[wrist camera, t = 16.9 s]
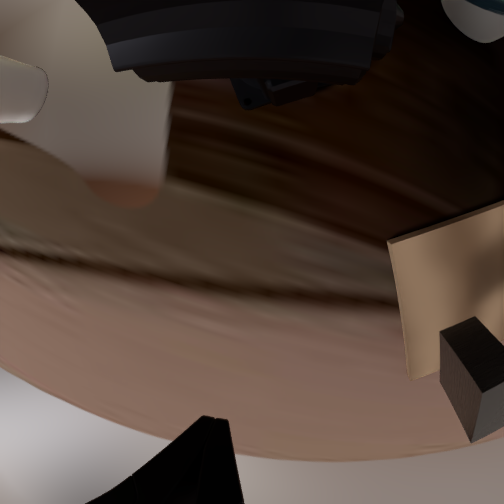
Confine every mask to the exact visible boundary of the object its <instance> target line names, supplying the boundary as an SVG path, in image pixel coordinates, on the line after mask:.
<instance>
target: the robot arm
mask: <svg viewBox="0 0 504 504" xmlns="http://www.w3.org/2000/svg"><path fill="white" fill-rule="evenodd" d="M75 1H76V2H77V3H78V4H79V5H80V6H81V7H82V8H83V9H84V11H85V12H86V13H87V14H88V15H89V17H90V18H91V19H92V21H93V22H94V23H95V24H96V26H97V28H98V30H99V32H100V34H101V36H102V38H103V40H104V42H105V44H106V46H107V50H108V53H109V56H110V60H111V63H112V66H113V69H114V71H115V72H121V71H126V70H133V71H134V72H135V73H136V74H137V75H138V76H139V77H140V78H141V79H143V80H145V81H146V82H155V81H157V82H169V81H180V80H195V79H217V78H230V80H231V83H232V85H233V88H234V90H235V93H236V95H237V98H238V100H239V103H240V105H241V107H242V108H243V109H245V110H252V109H255V108H258V107H261V106H264V105H267V104H269V103H272V104H273V105H275V106H280V105H283V104H286V103H289V102H292V101H296V100H299V99H302V98H306V97H309V96H312V95H314V94H315V92H316V89H318V88H321V87H325V86H329V85H333V84H337V85H344V84H348V85H355V84H356V83H358V82H359V81H360V80H361V79H362V78H363V76H364V75H365V73H366V70H367V71H368V70H369V69H370V64H371V60H380V59H382V58H383V57H384V56H385V55H386V53H387V52H390V50H391V46H392V40H393V34H394V30H395V29H396V28H398V27H399V26H401V25H402V24H403V21H404V13H403V10H402V9H401V8H400V6H399V5H398V4H397V0H75ZM247 99H250V100H252V103H251V104H250V105H248V106H247V105H245V101H246V100H247ZM85 504H244V499H243V494H242V489H241V484H240V480H239V474H238V470H237V464H236V459H235V453H234V448H233V443H232V437H231V432H230V426H229V421H228V420H227V419H222V418H216V419H215V418H214V417H210V416H205V415H203V416H201V417H200V418H199V419H198V420H197V421H195V422H194V423H193V424H192V425H191V426H190V427H189V428H188V429H186V430H185V431H184V432H183V433H182V434H181V435H179V436H178V437H177V438H176V439H175V440H174V441H172V442H171V443H170V444H169V445H168V446H167V447H165V448H164V449H163V450H162V451H161V452H159V453H158V454H157V455H156V456H154V457H153V458H152V459H151V460H150V461H148V462H147V463H146V464H145V465H143V466H142V467H141V468H140V469H138V470H137V471H136V472H135V473H133V474H132V476H129V477H128V478H126V479H125V480H124V481H123V482H121V483H120V484H118V485H117V486H115V487H114V488H113V489H111V490H109V491H108V492H106V493H104V494H102V495H101V496H99V497H97V498H95V499H93V500H91V501H89V502H87V503H85Z"/></svg>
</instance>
